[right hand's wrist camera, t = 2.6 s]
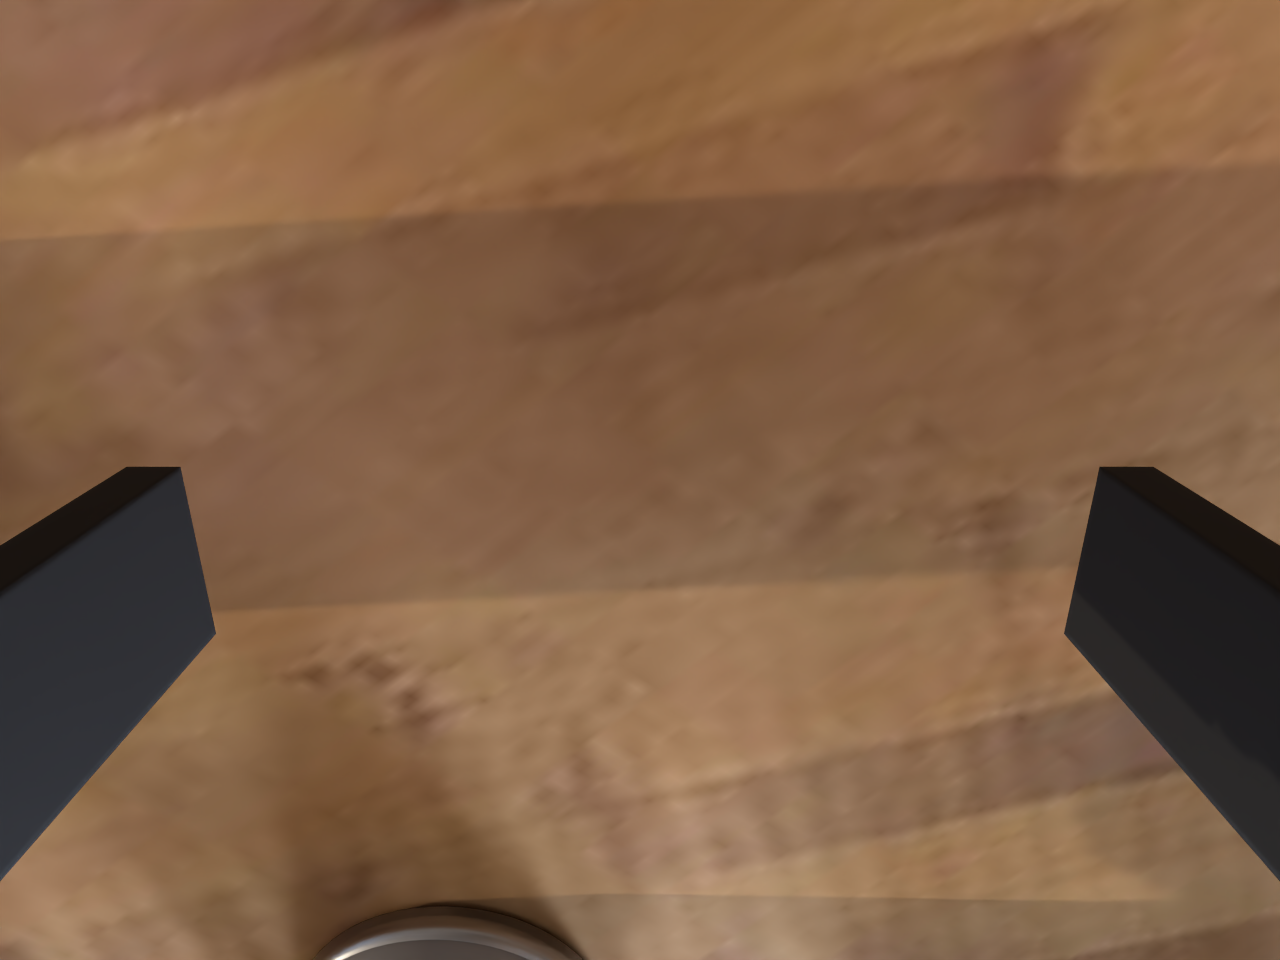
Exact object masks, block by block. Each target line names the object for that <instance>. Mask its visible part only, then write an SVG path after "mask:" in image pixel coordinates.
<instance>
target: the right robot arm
mask: <svg viewBox="0 0 1280 960" xmlns="http://www.w3.org/2000/svg"><path fill="white" fill-rule="evenodd" d="M215 634H216V632H215V627H214V622H213V618H212V613H211V608H210V604H209V599H208V594H207V590H206V585H205V580H204V576H203V571H202V566H201V562H200V557H199V552H198V548H197V543H196V538H195V533H194V529H193V524H192V519H191V515H190V510H189V505H188V501H187V496H186V491H185V487H184V482H183V477H182V473H181V468H180V467H126V468H124V469H122V470H121V471H119V472H118V473H116V474H114V475H113V476H111V477H110V478H108V479H106V480H105V481H103V482H102V483H100V484H98V485H97V486H95V487H94V488H92V489H90V490H89V491H87V492H86V493H84V494H82V495H81V496H79V497H78V498H76V499H74V500H73V501H71V502H70V503H68V504H66V505H65V506H63V507H61V508H60V509H58V510H57V511H55V512H53V513H52V514H50V515H49V516H47V517H45V518H44V519H42V520H41V521H39V522H37V523H36V524H34V525H33V526H31V527H29V528H28V529H26V530H25V531H23V532H21V533H20V534H18V535H17V536H15V537H13V538H12V539H10V540H9V541H7V542H5V543H4V544H2V545H0V881H1V880H2V879H3V877H4V876H5V875H6V874H7V873H8V872H9V870H10V869H11V868H12V867H13V866H14V865H15V864H16V862H17V861H18V860H19V859H20V858H21V857H22V856H23V854H24V853H25V852H26V851H27V850H28V849H29V848H30V846H31V845H32V844H33V843H34V842H35V841H36V840H37V838H38V837H39V836H40V835H41V834H42V833H43V831H44V830H45V829H46V828H47V827H48V826H49V825H50V823H51V822H52V821H53V820H54V819H55V818H56V817H57V815H58V814H59V813H60V812H61V811H62V810H63V809H64V807H65V806H66V805H67V804H68V803H69V802H70V800H71V799H72V798H73V797H74V796H75V795H76V794H77V792H78V791H79V790H80V789H81V788H82V787H83V786H84V784H85V783H86V782H87V781H88V780H89V779H90V778H91V776H92V775H93V774H94V773H95V772H96V771H97V770H98V768H99V767H100V766H101V765H102V764H103V763H104V761H105V760H106V759H107V758H108V757H109V756H110V755H111V753H112V752H113V751H114V750H115V749H116V748H117V747H118V745H119V744H120V743H121V742H122V741H123V740H124V739H125V737H126V736H127V735H128V734H129V733H130V732H131V730H132V729H133V728H134V727H135V726H136V725H137V724H138V722H139V721H140V720H141V719H142V718H143V717H144V716H145V714H146V713H147V712H148V711H149V710H150V709H151V708H152V706H153V705H154V704H155V703H156V702H157V701H158V700H159V698H160V697H161V696H162V695H163V694H164V693H165V691H166V690H167V689H168V688H169V687H170V686H171V685H172V683H173V682H174V681H175V680H176V679H177V678H178V677H179V675H180V674H181V673H182V672H183V671H184V670H185V669H186V667H187V666H188V665H189V664H190V663H191V662H192V661H193V659H194V658H195V657H196V656H197V655H198V654H199V652H200V651H201V650H202V649H203V648H204V647H205V646H206V644H207V643H208V642H209V641H210V640H211V639H212V638H213V636H214V635H215ZM1064 634H1065V635H1066V636H1067V638H1068V639H1069V640H1070V641H1071V642H1072V643H1073V644H1074V646H1075V647H1076V648H1077V649H1078V650H1079V651H1080V652H1081V654H1082V655H1083V656H1084V657H1085V658H1086V659H1087V661H1088V662H1089V663H1090V664H1091V665H1092V666H1093V667H1094V669H1095V670H1096V671H1097V672H1098V673H1099V674H1100V675H1101V677H1102V678H1103V679H1104V680H1105V681H1106V682H1107V683H1108V685H1109V686H1110V687H1111V688H1112V689H1113V690H1114V691H1115V693H1116V694H1117V695H1118V696H1119V697H1120V698H1121V700H1122V701H1123V702H1124V703H1125V704H1126V705H1127V706H1128V708H1129V709H1130V710H1131V711H1132V712H1133V713H1134V714H1135V716H1136V717H1137V718H1138V719H1139V720H1140V721H1141V722H1142V724H1143V725H1144V726H1145V727H1146V728H1147V729H1148V730H1149V732H1150V733H1151V734H1152V735H1153V736H1154V737H1155V739H1156V740H1157V741H1158V742H1159V743H1160V744H1161V745H1162V747H1163V748H1164V749H1165V750H1166V751H1167V752H1168V753H1169V755H1170V756H1171V757H1172V758H1173V759H1174V760H1175V761H1176V763H1177V764H1178V765H1179V766H1180V767H1181V768H1182V770H1183V771H1184V772H1185V773H1186V774H1187V775H1188V776H1189V778H1190V779H1191V780H1192V781H1193V782H1194V783H1195V784H1196V786H1197V787H1198V788H1199V789H1200V790H1201V791H1202V792H1203V794H1204V795H1205V796H1206V797H1207V798H1208V799H1209V800H1210V802H1211V803H1212V804H1213V805H1214V806H1215V807H1216V809H1217V810H1218V811H1219V812H1220V813H1221V814H1222V815H1223V817H1224V818H1225V819H1226V820H1227V821H1228V822H1229V823H1230V825H1231V826H1232V827H1233V828H1234V829H1235V830H1236V831H1237V833H1238V834H1239V835H1240V836H1241V837H1242V838H1243V840H1244V841H1245V842H1246V843H1247V844H1248V845H1249V846H1250V848H1251V849H1252V850H1253V851H1254V852H1255V853H1256V854H1257V856H1258V857H1259V858H1260V859H1261V860H1262V861H1263V862H1264V864H1265V865H1266V866H1267V867H1268V868H1269V869H1270V870H1271V872H1272V873H1273V874H1274V875H1275V876H1276V877H1277V879H1278V880H1279V881H1280V545H1278V544H1276V543H1275V542H1273V541H1271V540H1270V539H1268V538H1267V537H1265V536H1263V535H1262V534H1260V533H1259V532H1257V531H1255V530H1254V529H1252V528H1251V527H1249V526H1247V525H1246V524H1244V523H1243V522H1241V521H1239V520H1238V519H1236V518H1235V517H1233V516H1231V515H1230V514H1228V513H1227V512H1225V511H1223V510H1222V509H1220V508H1219V507H1217V506H1215V505H1214V504H1212V503H1210V502H1209V501H1207V500H1206V499H1204V498H1202V497H1201V496H1199V495H1198V494H1196V493H1194V492H1193V491H1191V490H1190V489H1188V488H1186V487H1185V486H1183V485H1182V484H1180V483H1178V482H1177V481H1175V480H1174V479H1172V478H1170V477H1169V476H1167V475H1166V474H1164V473H1162V472H1161V471H1159V470H1158V469H1156V468H1154V467H1100V468H1099V473H1098V477H1097V482H1096V487H1095V491H1094V496H1093V501H1092V505H1091V510H1090V515H1089V519H1088V524H1087V529H1086V533H1085V538H1084V543H1083V548H1082V552H1081V557H1080V562H1079V566H1078V571H1077V576H1076V580H1075V585H1074V590H1073V594H1072V599H1071V604H1070V608H1069V613H1068V618H1067V622H1066V627H1065V632H1064ZM313 960H583V959H582V958H581V957H580V956H579V955H578V954H577V953H575V952H574V951H573V950H572V949H570V948H569V947H568V946H567V945H566V944H564V943H563V942H561V941H560V940H558V939H557V938H555V937H554V936H552V935H550V934H548V933H546V932H545V931H543V930H541V929H539V928H537V927H535V926H532V925H530V924H528V923H526V922H523V921H520V920H517V919H515V918H512V917H509V916H505V915H501V914H498V913H494V912H489V911H484V910H479V909H471V908H464V907H447V906H442V907H421V908H412V909H406V910H400V911H395V912H391V913H387V914H383V915H380V916H377V917H374V918H371V919H368V920H366V921H364V922H362V923H359V924H357V925H355V926H353V927H351V928H350V929H348V930H346V931H344V932H343V933H341V934H340V935H338V936H337V937H336V938H334V939H333V940H331V941H330V942H329V943H328V944H327V945H326V946H325V947H324V948H322V950H321V951H320V952H319V953H318V954H317V955H316V956H315V957H314V959H313Z"/></svg>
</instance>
